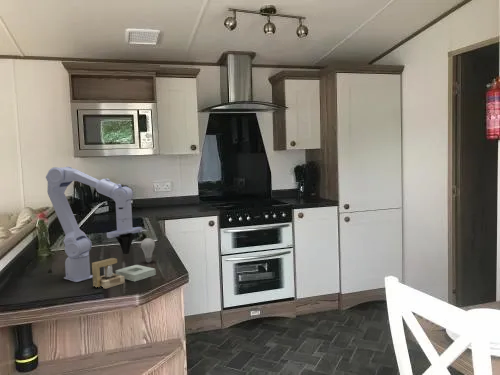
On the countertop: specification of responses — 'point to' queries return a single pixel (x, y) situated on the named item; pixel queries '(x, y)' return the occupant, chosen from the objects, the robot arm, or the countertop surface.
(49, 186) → the robot arm
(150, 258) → the lightbulb
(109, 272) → the steel pin
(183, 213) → the countertop surface
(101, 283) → the socket block
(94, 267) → the tan l-shaped wooden piece
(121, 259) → the countertop surface
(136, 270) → the pale grey flat frame
